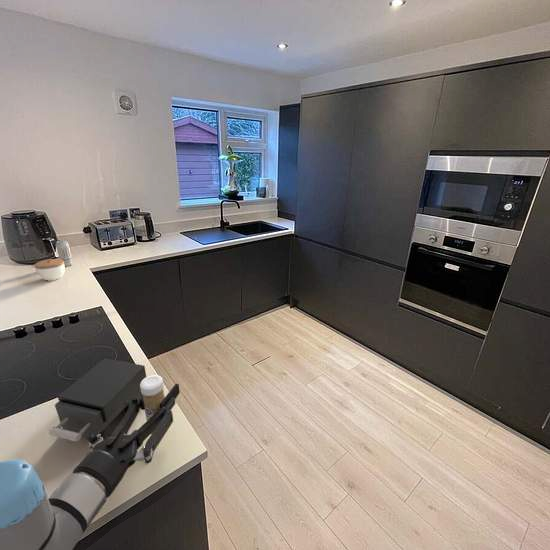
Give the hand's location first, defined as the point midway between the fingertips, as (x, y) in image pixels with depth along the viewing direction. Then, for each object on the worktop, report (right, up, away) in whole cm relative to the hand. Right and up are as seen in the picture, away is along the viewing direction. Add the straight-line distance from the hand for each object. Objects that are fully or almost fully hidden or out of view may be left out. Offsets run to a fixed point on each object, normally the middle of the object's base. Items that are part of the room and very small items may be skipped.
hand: (168, 386), depth 69 cm
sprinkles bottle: (-1, -9, -2) cm, 9 cm away
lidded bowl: (-94, +25, +87) cm, 131 cm away
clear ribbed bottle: (-101, +32, +106) cm, 150 cm away
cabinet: (-18, -9, +7) cm, 21 cm away
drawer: (-19, -9, +3) cm, 21 cm away
